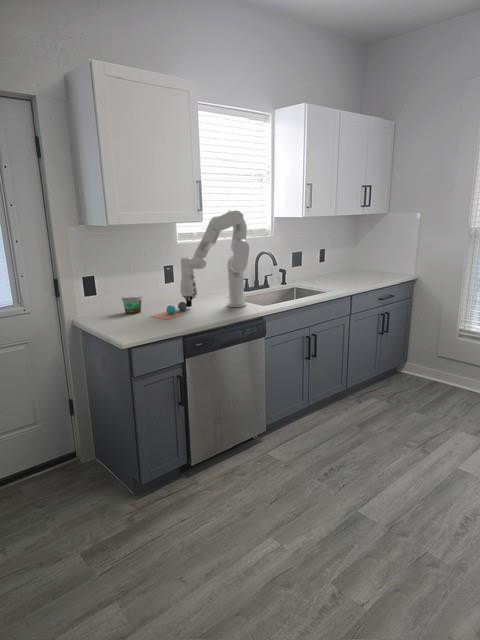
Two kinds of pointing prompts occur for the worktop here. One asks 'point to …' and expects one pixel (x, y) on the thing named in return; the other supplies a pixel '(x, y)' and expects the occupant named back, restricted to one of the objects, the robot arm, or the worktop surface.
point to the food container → (132, 305)
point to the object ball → (170, 309)
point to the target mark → (166, 315)
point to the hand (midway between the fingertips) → (189, 306)
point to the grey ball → (182, 306)
